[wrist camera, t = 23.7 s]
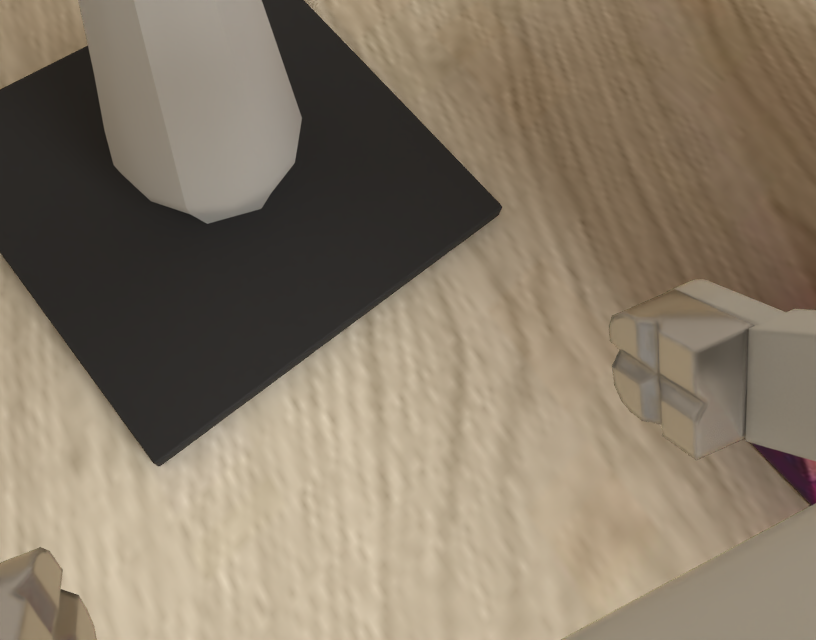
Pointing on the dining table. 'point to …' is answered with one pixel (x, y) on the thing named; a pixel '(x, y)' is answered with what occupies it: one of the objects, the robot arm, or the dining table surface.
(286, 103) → the salt shaker
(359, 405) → the dining table surface
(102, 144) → the black square mat
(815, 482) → the decorative box
